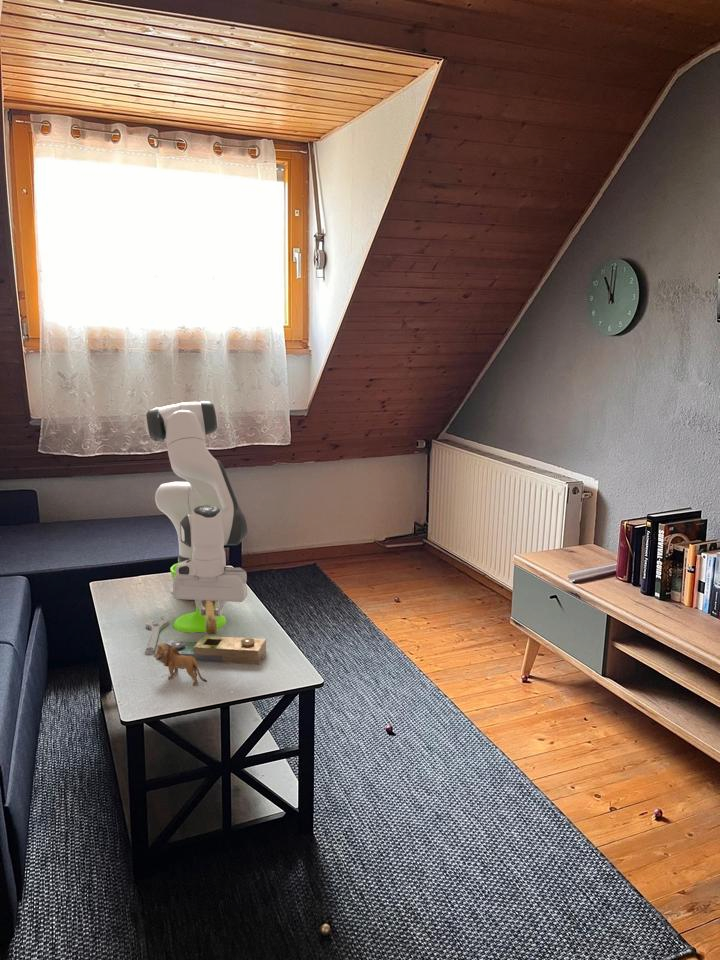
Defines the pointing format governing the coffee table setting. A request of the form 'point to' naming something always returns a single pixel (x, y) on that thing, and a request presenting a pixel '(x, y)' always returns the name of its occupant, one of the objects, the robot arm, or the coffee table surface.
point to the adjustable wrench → (154, 633)
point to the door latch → (223, 649)
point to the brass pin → (210, 617)
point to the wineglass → (193, 617)
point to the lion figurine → (177, 662)
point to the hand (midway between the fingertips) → (210, 615)
